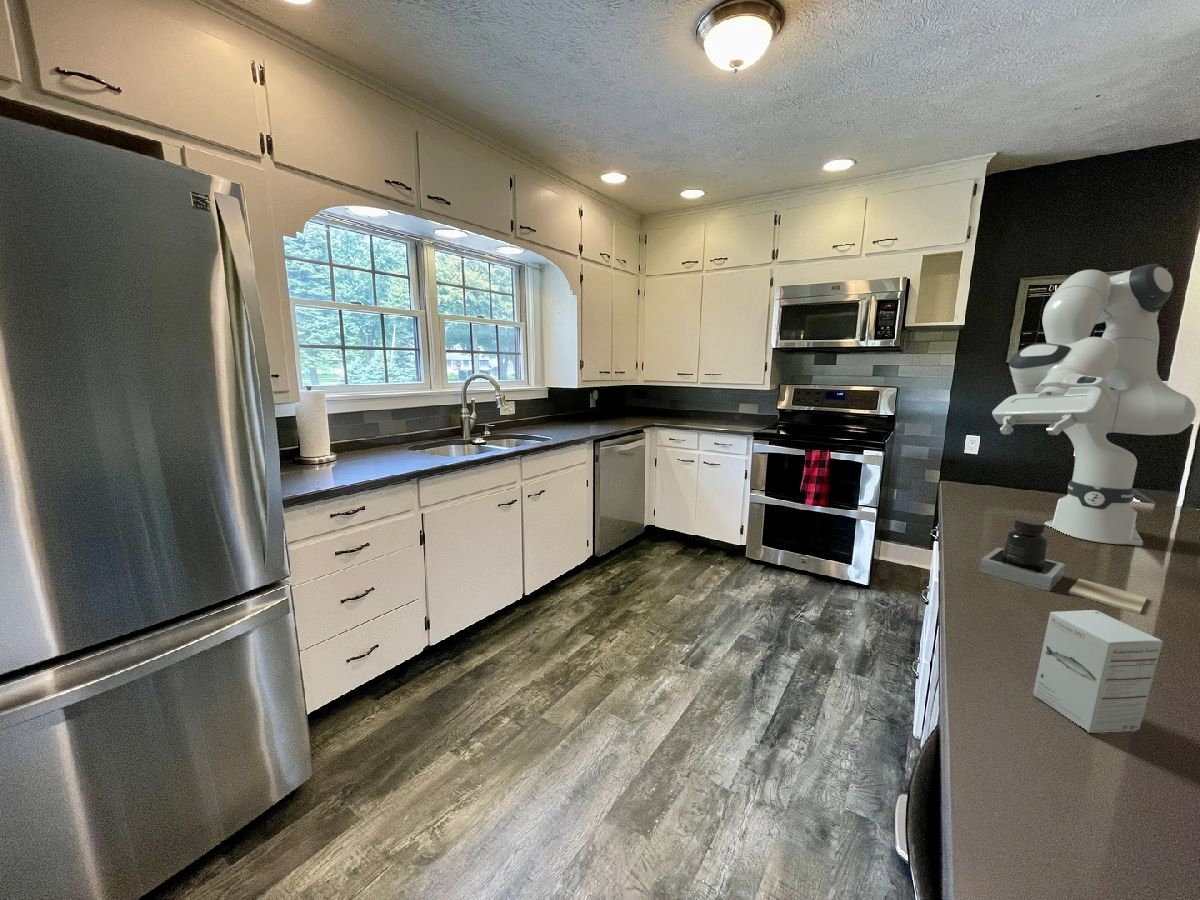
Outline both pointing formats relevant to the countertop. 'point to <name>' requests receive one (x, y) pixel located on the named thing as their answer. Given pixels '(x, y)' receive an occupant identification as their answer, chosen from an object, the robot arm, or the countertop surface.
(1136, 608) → the birch pad
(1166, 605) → the countertop surface
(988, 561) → the steel holder
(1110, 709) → the supplement box
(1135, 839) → the countertop surface
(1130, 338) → the robot arm
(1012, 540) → the supplement bottle
